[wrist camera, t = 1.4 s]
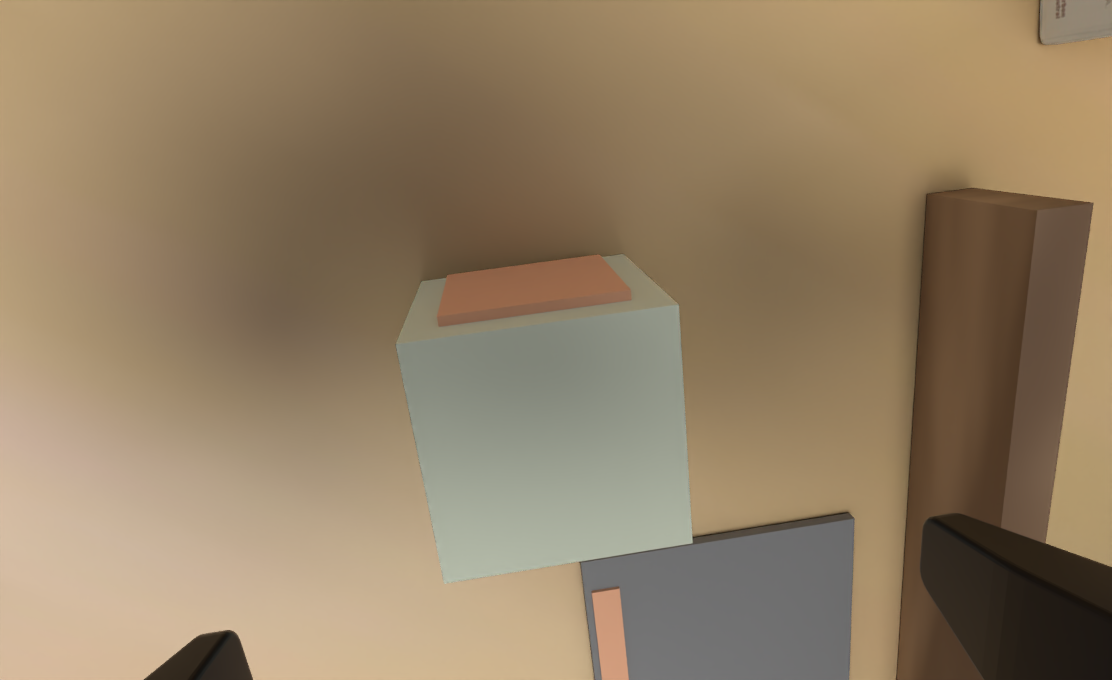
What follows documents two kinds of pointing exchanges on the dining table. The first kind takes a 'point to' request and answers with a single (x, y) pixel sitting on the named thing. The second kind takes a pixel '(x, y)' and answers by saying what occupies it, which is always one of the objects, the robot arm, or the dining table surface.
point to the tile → (727, 606)
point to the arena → (987, 383)
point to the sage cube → (547, 414)
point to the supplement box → (1074, 20)
